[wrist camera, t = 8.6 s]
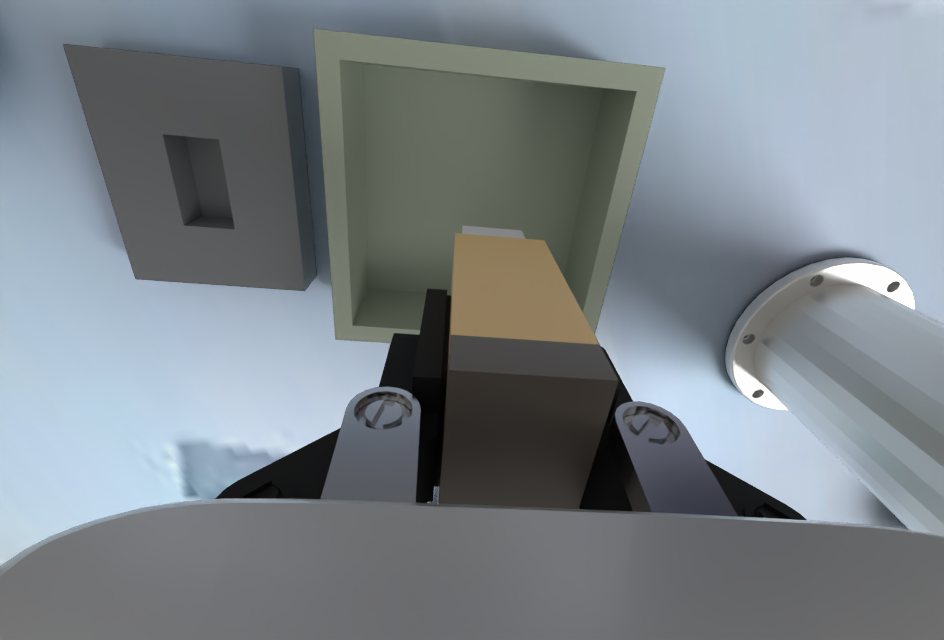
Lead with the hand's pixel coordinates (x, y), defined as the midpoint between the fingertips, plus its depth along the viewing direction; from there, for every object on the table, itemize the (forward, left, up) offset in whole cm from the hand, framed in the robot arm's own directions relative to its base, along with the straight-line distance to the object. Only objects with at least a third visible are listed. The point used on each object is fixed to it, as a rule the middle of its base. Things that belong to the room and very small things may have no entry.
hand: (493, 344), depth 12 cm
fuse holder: (+15, 0, -17) cm, 23 cm away
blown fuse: (0, 0, -4) cm, 4 cm away
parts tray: (0, 0, -17) cm, 17 cm away
